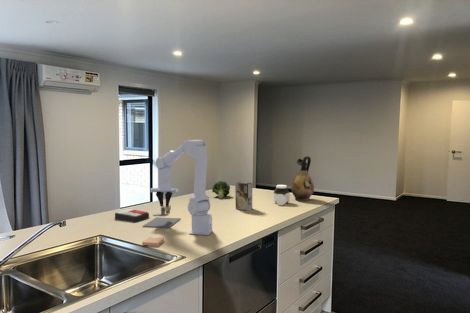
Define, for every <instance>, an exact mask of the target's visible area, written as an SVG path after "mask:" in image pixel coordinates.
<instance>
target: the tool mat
mask: <svg viewBox="0 0 470 313" xmlns="http://www.w3.org/2000/svg"><path fill="white" fill-rule="evenodd" d="M181 220H182V218H179V217H161V216H155V218H153V219H151V220H149V221H148V222H147V223H145V224H143V225H142V228H156V227H161V228H160V229H170V228H171V227H173V226H174V225H175V224H177V223H178V222H180V221H181Z"/></svg>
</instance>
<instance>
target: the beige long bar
mask: <svg viewBox="0 0 470 313" xmlns="http://www.w3.org/2000/svg"><path fill="white" fill-rule="evenodd" d="M171 208H172V205H171V204H169V206H168V207H166V204H165V205H164V204H163V206H160V213H154V214H152V216H153V217H168V216H169V215H170V213H171Z"/></svg>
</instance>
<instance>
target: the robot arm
mask: <svg viewBox="0 0 470 313" xmlns="http://www.w3.org/2000/svg"><path fill="white" fill-rule="evenodd" d="M207 151H208V144H207V143H206V142H205V140H203V139H185V141H183V142H181V145H179V146H178V147H177V148H176V149H175V150H172V149H171V150H168V151H167V153H166V154H163V156H162V157H161V156H159V157H157V158H156V160H155V167H156V168H157V178H158V179H157V180H158V187H151V188H150V191H149V192H150V193H155V197H157V200H158V201H159V202H158V203H159V205H160V207H161V206H164V197H165V205H166V207H168V206H169V205H170V201H171V198H172V196H173V194H174V193H175V194H178V193H179V188H173V187H171V182H170V177H171V176H170V174H171V173H170V172H171V168H172V165H173V164H174V163H175V162H177V161H178V160H179V159H180V158H179V157H180V156H182V155H184V154H187V155H188V156H189V157H191V158H192V159H193V160H194V180H193V193H192V194H191V196H190V197H189V201H188V204H187V211H188V212H189V214H190V215H191V231H190V232H189V233H188V234H189V235H204V236H209V235H210V234H211V233H212V232H213V216H212V214H208V213H209V211H210V209H211V203H210V197H209V195H207V194H206V188H207V187H206V186H207V171H208V155H207Z"/></svg>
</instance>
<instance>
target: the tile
mask: <svg viewBox="0 0 470 313" xmlns="http://www.w3.org/2000/svg"><path fill="white" fill-rule="evenodd" d="M164 242H165V237H153V236H151V237H150V236H149V237H148V238H146V239H145V240H143V241H142V243H141V245H148V246H147V247H155V246H158V247H159V246H160V244H161V243H162V244H163V243H164ZM162 244H161V245H162Z"/></svg>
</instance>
